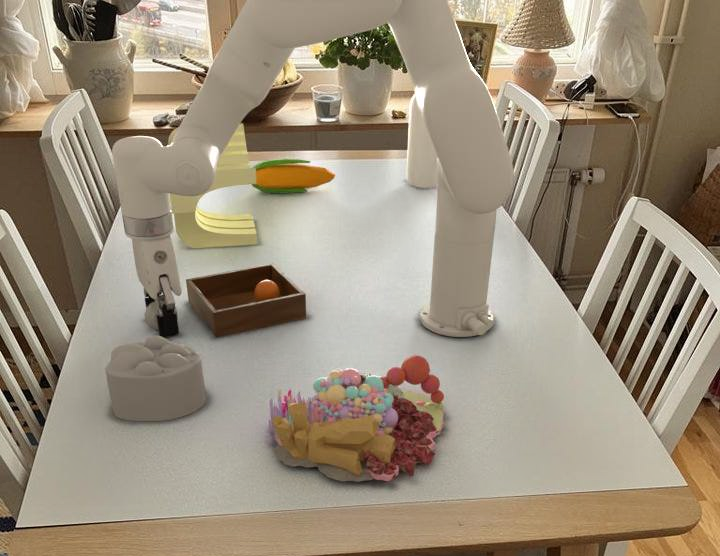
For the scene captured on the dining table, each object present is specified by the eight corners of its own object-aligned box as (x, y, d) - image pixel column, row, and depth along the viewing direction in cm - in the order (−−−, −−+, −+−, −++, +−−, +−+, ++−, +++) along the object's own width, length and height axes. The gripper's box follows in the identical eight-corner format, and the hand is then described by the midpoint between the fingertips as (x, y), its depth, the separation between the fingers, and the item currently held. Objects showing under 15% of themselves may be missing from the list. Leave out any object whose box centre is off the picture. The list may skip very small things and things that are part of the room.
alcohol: (403, 177, 206) (409, 40, 188) (439, 176, 207) (448, 40, 189) (409, 189, 200) (415, 48, 181) (445, 188, 200) (456, 48, 182)
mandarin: (284, 307, 149) (283, 283, 146) (260, 312, 147) (259, 288, 144) (274, 297, 152) (273, 274, 149) (251, 301, 150) (249, 278, 148)
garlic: (185, 330, 142) (182, 301, 139) (155, 338, 140) (151, 309, 136) (171, 316, 146) (167, 288, 143) (141, 324, 143) (136, 296, 140)
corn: (246, 153, 195) (333, 151, 197) (249, 186, 200) (333, 183, 202) (247, 166, 189) (336, 163, 191) (249, 199, 194) (336, 196, 196)
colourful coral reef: (430, 498, 107) (435, 437, 101) (250, 476, 110) (245, 417, 104) (449, 395, 126) (454, 340, 121) (295, 379, 130) (293, 325, 124)
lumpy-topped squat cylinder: (123, 383, 128) (113, 332, 123) (209, 382, 129) (203, 331, 123) (109, 421, 120) (98, 368, 115) (202, 420, 120) (195, 367, 115)
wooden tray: (306, 318, 146) (305, 293, 143) (215, 337, 140) (213, 312, 137) (274, 286, 156) (273, 262, 154) (188, 303, 150) (185, 279, 147)
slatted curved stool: (176, 211, 186) (166, 126, 175) (249, 207, 189) (243, 123, 178) (178, 266, 163) (166, 172, 152) (261, 260, 165) (255, 168, 154)
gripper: (188, 237, 127) (201, 344, 138) (156, 201, 139) (169, 302, 150) (139, 245, 124) (156, 354, 135) (110, 208, 136) (127, 310, 147)
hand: (163, 326), depth 142 cm, fingers closed on garlic, 6 cm apart
